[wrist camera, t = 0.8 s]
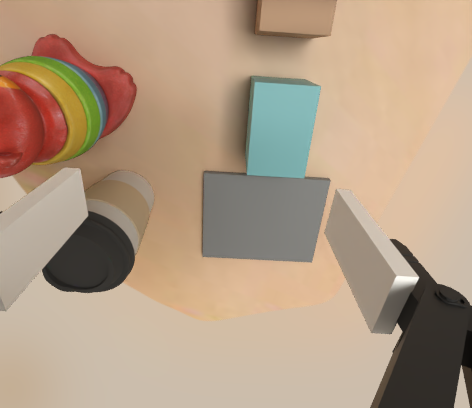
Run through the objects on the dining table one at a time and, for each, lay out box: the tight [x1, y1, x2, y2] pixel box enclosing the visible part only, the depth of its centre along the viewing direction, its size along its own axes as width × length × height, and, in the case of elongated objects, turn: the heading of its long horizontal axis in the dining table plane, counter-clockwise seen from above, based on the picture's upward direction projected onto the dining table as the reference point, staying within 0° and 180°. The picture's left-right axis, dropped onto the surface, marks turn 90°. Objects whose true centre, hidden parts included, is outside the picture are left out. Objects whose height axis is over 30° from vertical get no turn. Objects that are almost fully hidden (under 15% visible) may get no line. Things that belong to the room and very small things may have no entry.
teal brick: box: [245, 76, 321, 178], centre depth 32 cm, size 9×6×7 cm, turn 176°
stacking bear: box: [0, 34, 137, 178], centre depth 26 cm, size 11×10×18 cm
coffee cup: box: [42, 170, 154, 293], centre depth 33 cm, size 9×9×15 cm
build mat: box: [203, 171, 330, 262], centre depth 41 cm, size 13×16×1 cm
